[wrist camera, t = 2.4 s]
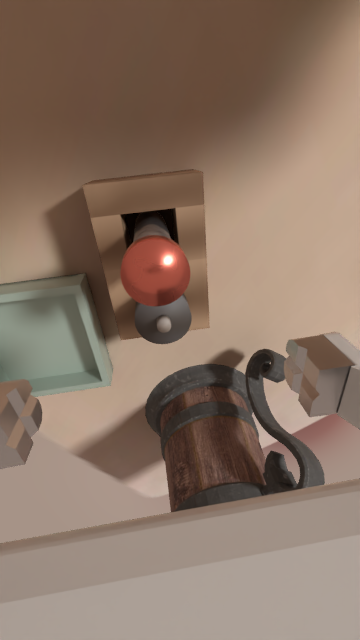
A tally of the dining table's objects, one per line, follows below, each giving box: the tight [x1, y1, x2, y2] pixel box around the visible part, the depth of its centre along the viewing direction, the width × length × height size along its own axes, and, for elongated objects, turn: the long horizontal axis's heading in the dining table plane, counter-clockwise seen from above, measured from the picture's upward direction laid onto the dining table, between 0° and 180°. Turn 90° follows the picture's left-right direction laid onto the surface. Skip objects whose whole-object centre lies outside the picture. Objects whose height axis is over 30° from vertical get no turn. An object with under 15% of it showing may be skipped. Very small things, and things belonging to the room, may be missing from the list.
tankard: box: [145, 349, 325, 512], centre depth 31 cm, size 24×17×20 cm
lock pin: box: [120, 211, 190, 307], centre depth 21 cm, size 4×4×13 cm
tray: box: [0, 273, 113, 397], centre depth 30 cm, size 13×13×3 cm
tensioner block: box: [82, 170, 209, 344], centre depth 25 cm, size 14×9×8 cm, turn 6°
